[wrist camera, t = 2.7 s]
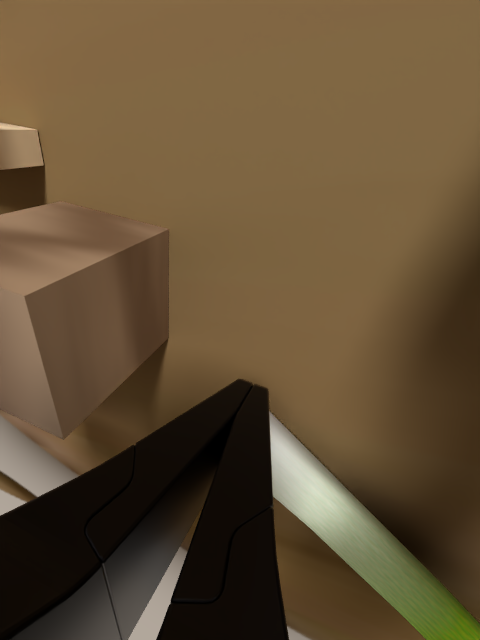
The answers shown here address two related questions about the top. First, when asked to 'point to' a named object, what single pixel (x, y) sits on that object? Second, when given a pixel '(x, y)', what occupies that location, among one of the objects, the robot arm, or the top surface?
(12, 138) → the channel
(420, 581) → the leek
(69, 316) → the block
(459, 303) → the top surface
